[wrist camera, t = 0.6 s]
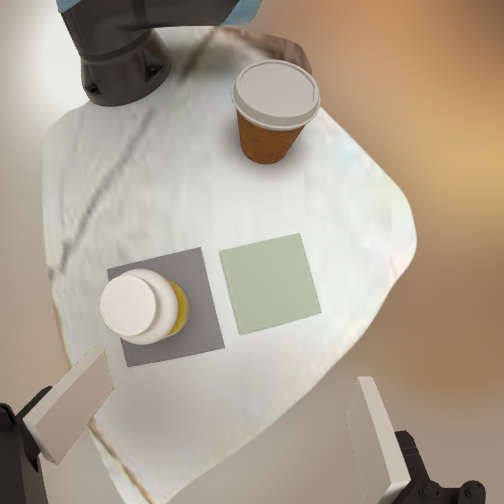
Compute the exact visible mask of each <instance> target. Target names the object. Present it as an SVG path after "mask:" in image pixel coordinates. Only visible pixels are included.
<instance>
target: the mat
mask: <svg viewBox="0 0 504 504" xmlns="http://www.w3.org/2000/svg"><path fill="white" fill-rule="evenodd" d="M219 254H220V258H221V262H222V266H223V270H224V275H225V279H226V283H227V287H228V291H229V295H230V299H231V303H232V307H233V311H234V315H235V319H236V323H237V327H238V331H239V335H243V334H247V333H251V332H255V331H259V330H263V329H266V328H270V327H274V326H278V325H281V324H285V323H288V322H292V321H295V320H299V319H302V318H306V317H309V316H313V315H316V314H319V313H321V309H320V305H319V301H318V297H317V294H316V290H315V286H314V282H313V278H312V275H311V271H310V267H309V264H308V260H307V257H306V253H305V249H304V246H303V242H302V239H301V236H300V233H298V234H293V235H289V236H284V237H280V238H276V239H271V240H267V241H262V242H258V243H254V244H249V245H245V246H240V247H236V248H232V249H227V250H223V251H219Z"/></svg>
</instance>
